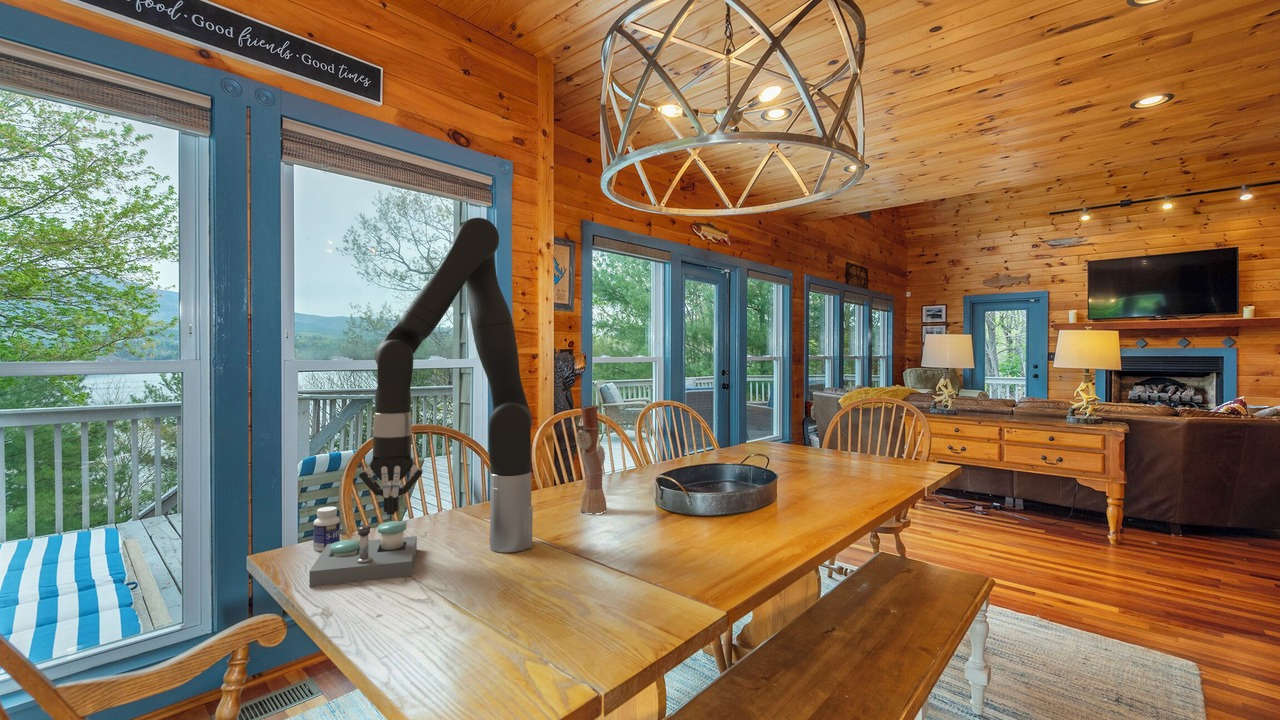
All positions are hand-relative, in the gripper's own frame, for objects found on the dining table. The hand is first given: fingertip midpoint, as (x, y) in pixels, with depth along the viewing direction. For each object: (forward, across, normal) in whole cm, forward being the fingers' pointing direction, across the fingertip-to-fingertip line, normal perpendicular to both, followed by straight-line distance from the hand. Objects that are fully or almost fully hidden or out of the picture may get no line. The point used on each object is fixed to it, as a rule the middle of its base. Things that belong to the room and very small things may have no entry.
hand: (391, 513), depth 121 cm
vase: (+10, -49, -24) cm, 56 cm away
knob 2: (+7, 0, 0) cm, 7 cm away
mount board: (+10, +4, +2) cm, 11 cm away
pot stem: (+7, +4, +7) cm, 11 cm away
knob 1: (+10, +9, 0) cm, 13 cm away
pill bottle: (+11, +15, -13) cm, 22 cm away
